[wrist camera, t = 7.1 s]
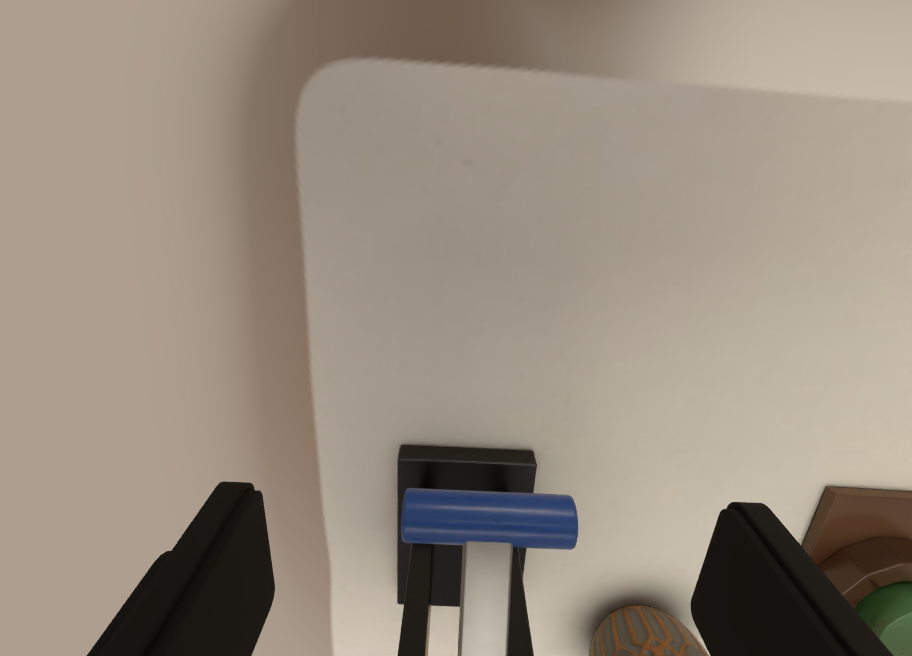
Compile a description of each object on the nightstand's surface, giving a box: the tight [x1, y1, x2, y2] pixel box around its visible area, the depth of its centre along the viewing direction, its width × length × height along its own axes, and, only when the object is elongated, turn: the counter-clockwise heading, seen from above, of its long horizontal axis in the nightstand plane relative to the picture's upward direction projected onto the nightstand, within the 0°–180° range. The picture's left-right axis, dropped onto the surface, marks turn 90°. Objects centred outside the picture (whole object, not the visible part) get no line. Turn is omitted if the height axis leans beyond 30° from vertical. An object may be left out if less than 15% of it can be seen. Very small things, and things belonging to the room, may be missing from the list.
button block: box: [802, 487, 912, 609], centre depth 26 cm, size 12×8×2 cm, turn 176°
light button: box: [855, 581, 912, 656], centre depth 25 cm, size 4×4×2 cm
